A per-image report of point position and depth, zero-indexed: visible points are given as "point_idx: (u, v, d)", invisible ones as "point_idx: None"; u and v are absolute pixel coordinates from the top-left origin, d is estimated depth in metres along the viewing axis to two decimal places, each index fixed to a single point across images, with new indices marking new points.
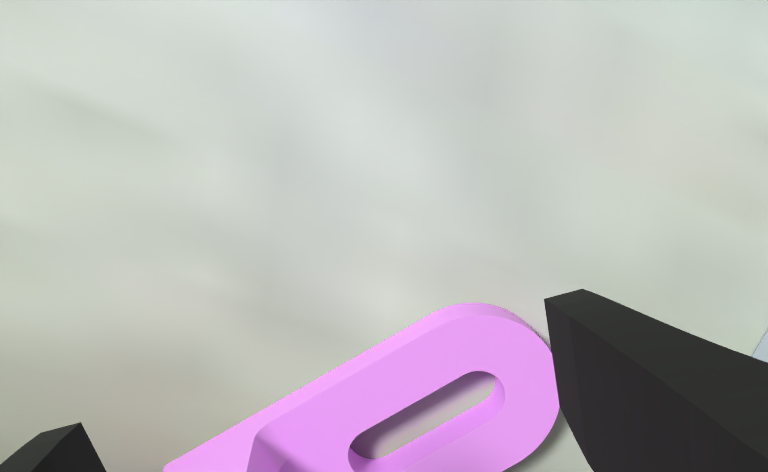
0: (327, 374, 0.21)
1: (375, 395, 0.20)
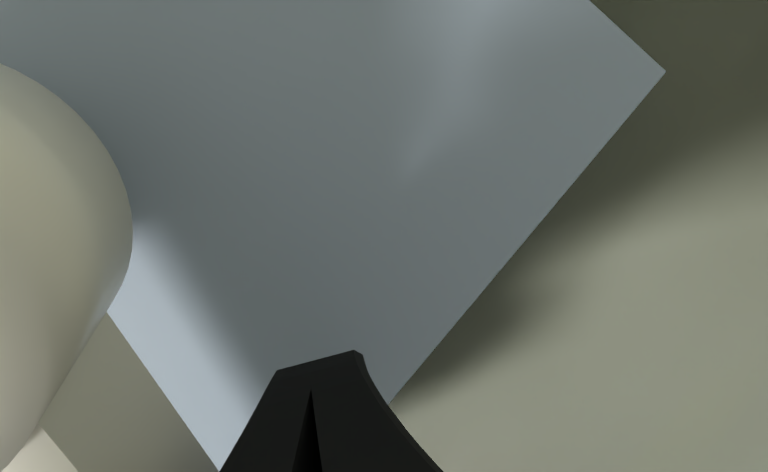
0: None
1: None
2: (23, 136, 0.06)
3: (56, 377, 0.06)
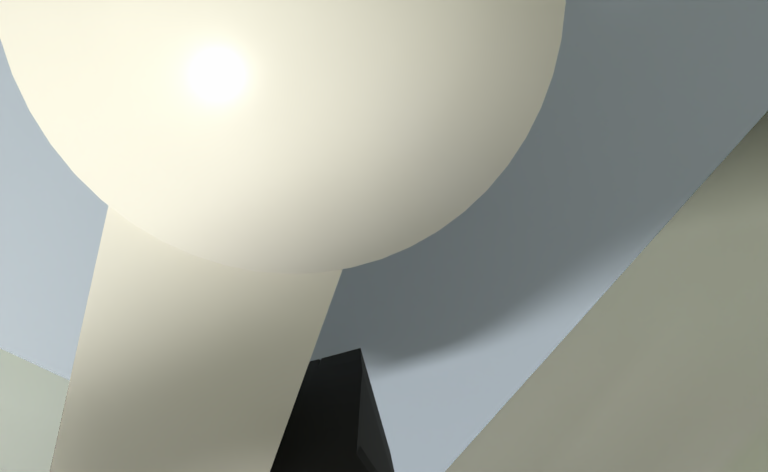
0: None
1: None
2: None
3: None
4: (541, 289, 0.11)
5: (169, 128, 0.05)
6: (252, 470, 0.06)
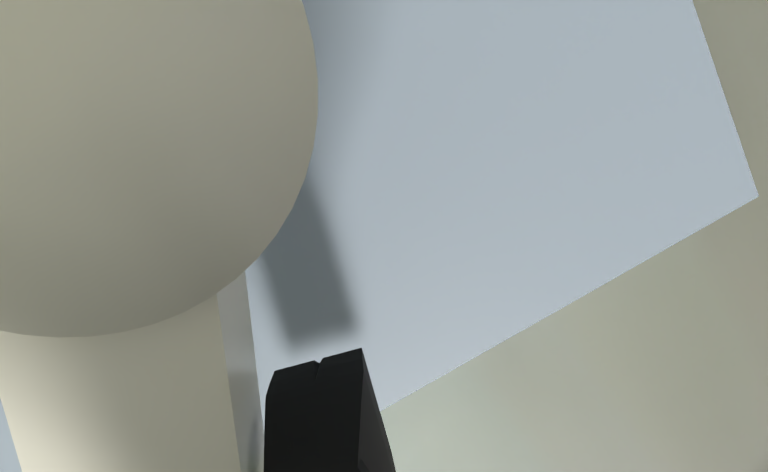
0: None
1: None
2: None
3: None
4: None
5: None
6: None
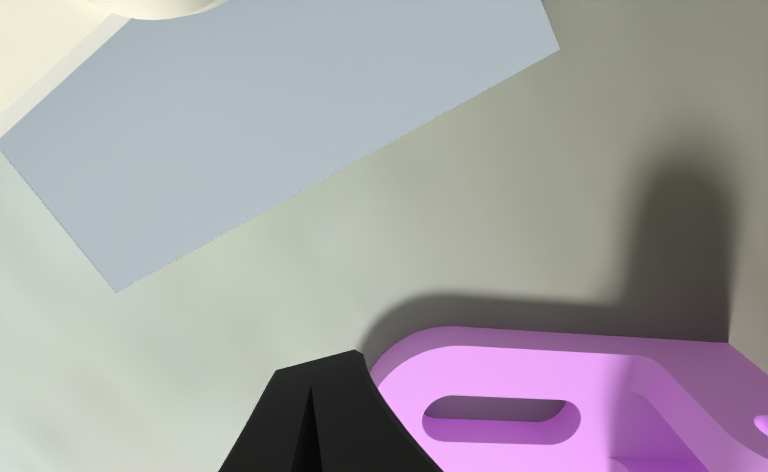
0: None
1: (516, 464, 0.22)
2: None
3: None
4: None
5: None
6: (8, 93, 0.12)
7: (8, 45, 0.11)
